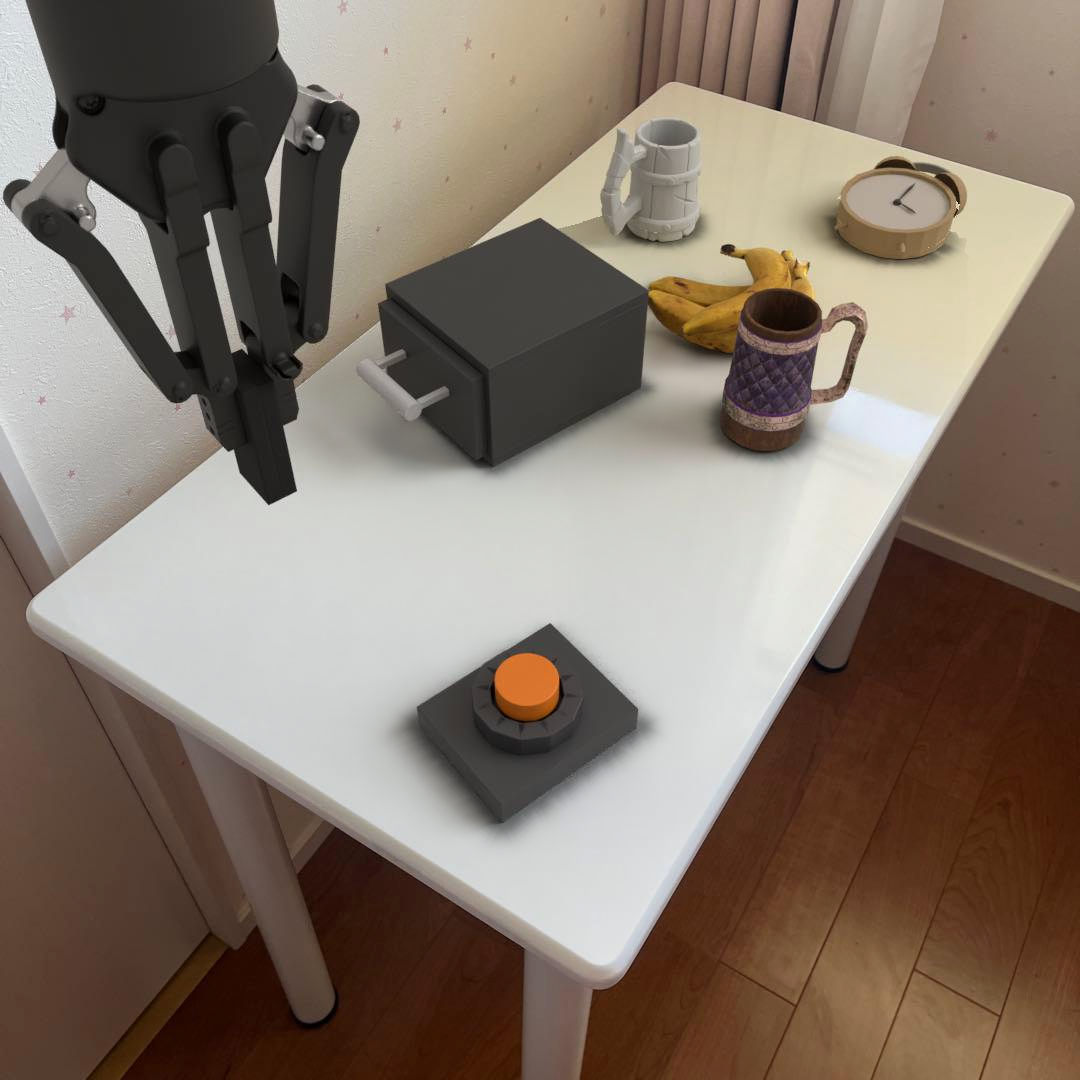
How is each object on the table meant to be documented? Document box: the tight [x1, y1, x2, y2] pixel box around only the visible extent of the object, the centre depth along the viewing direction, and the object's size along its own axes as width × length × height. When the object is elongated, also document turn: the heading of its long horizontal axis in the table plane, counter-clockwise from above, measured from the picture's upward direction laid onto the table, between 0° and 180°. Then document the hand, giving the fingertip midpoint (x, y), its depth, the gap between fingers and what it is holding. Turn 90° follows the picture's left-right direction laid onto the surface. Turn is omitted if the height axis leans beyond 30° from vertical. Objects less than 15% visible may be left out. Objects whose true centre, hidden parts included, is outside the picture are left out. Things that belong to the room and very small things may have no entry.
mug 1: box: [599, 116, 703, 243], centre depth 108 cm, size 8×12×12 cm, turn 128°
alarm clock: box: [833, 155, 968, 260], centre depth 112 cm, size 11×5×15 cm
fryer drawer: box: [355, 298, 488, 461], centre depth 90 cm, size 19×13×8 cm
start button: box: [494, 653, 559, 721], centre depth 69 cm, size 4×4×2 cm
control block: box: [416, 622, 639, 824], centre depth 71 cm, size 11×9×4 cm
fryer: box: [384, 217, 650, 468], centre depth 92 cm, size 16×14×10 cm
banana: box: [648, 243, 816, 354], centre depth 101 cm, size 15×19×6 cm
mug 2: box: [719, 288, 869, 452], centre depth 88 cm, size 10×7×12 cm
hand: (268, 481), depth 51 cm, fingers closed
